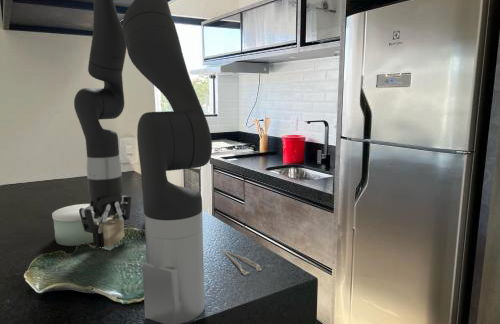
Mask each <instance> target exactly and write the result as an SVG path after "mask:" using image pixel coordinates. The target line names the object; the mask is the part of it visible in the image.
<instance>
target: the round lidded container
mask: <svg viewBox="0 0 500 324" xmlns="http://www.w3.org/2000/svg"><path fill="white" fill-rule="evenodd" d="M88 206H90V203H82V204H81V203H80V204H72V205H67V206H64V207H61V208H57V209H56V210H54V211H53V212H52V213H51V216H52V218H51V219H52V220H53V228H54V237H55V242H56V244H58V245H61V246H67V247H68V246H69V247H73V246H74V247H75V246H80V245H79V244H83V243H87V244H86V245H89V244H93V233H90V232H85V231H84V227H83V224H82V220H81V217H80V213H79V209H80V208H86V207H88ZM92 213H93V212H92ZM92 216H93V215H92ZM98 219H101V217H98Z"/></svg>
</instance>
